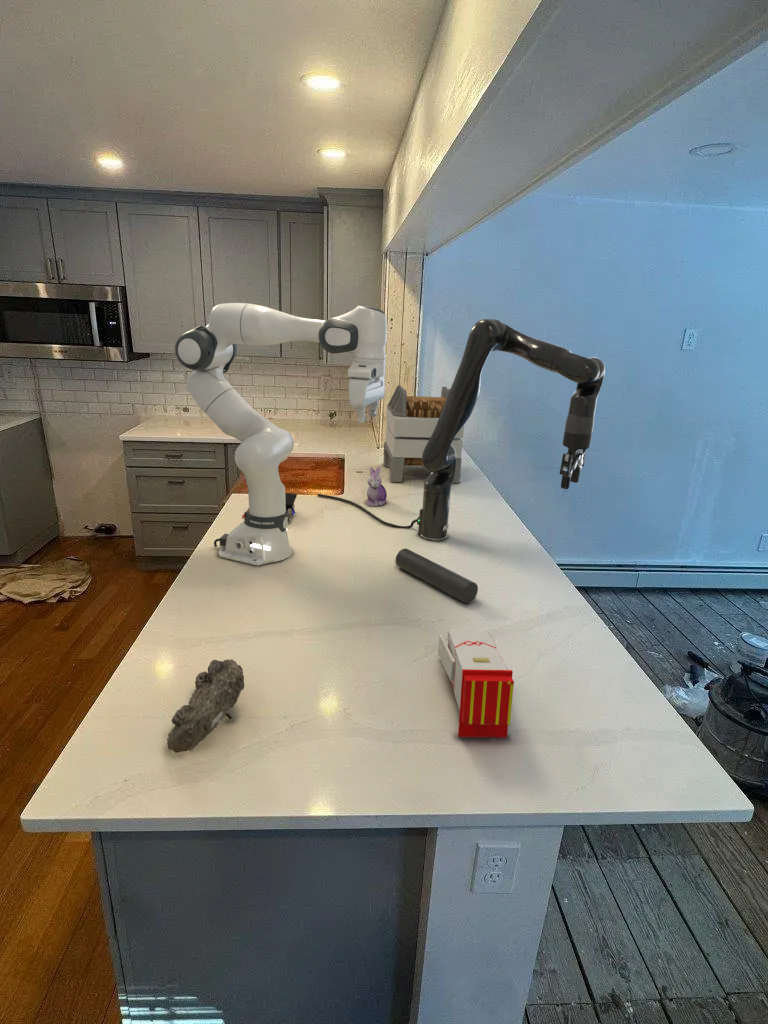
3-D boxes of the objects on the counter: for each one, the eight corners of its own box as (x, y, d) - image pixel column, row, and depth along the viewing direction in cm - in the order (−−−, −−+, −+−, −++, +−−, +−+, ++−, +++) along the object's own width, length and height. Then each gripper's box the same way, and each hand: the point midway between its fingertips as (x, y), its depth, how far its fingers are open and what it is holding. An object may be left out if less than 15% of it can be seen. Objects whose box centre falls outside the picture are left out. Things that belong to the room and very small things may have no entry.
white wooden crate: (382, 463, 289) (386, 382, 275) (445, 464, 293) (451, 384, 279) (390, 482, 257) (394, 392, 243) (460, 483, 261) (468, 394, 247)
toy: (488, 613, 130) (523, 677, 101) (484, 667, 133) (517, 744, 104) (435, 612, 130) (455, 676, 101) (432, 666, 133) (451, 743, 103)
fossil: (192, 660, 117) (244, 628, 112) (224, 691, 120) (276, 661, 115) (142, 746, 98) (202, 712, 93) (182, 779, 101) (242, 748, 96)
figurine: (371, 508, 224) (372, 471, 219) (360, 500, 232) (361, 464, 227) (392, 505, 228) (394, 469, 223) (380, 497, 236) (382, 462, 231)
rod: (476, 599, 157) (479, 580, 155) (461, 606, 153) (463, 586, 151) (409, 564, 176) (410, 546, 174) (394, 569, 173) (395, 550, 171)
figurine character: (292, 528, 204) (297, 509, 217) (292, 509, 201) (297, 491, 214) (274, 527, 204) (280, 509, 217) (273, 508, 200) (279, 491, 214)
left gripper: (370, 364, 165) (368, 412, 169) (345, 371, 146) (343, 424, 151) (391, 366, 163) (388, 414, 168) (368, 373, 144) (366, 426, 149)
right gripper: (573, 424, 167) (565, 477, 173) (556, 431, 156) (548, 487, 162) (599, 428, 163) (589, 482, 169) (584, 436, 152) (574, 493, 158)
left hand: (367, 419), depth 159 cm, fingers open, 8 cm apart
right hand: (569, 485), depth 165 cm, fingers open, 8 cm apart
